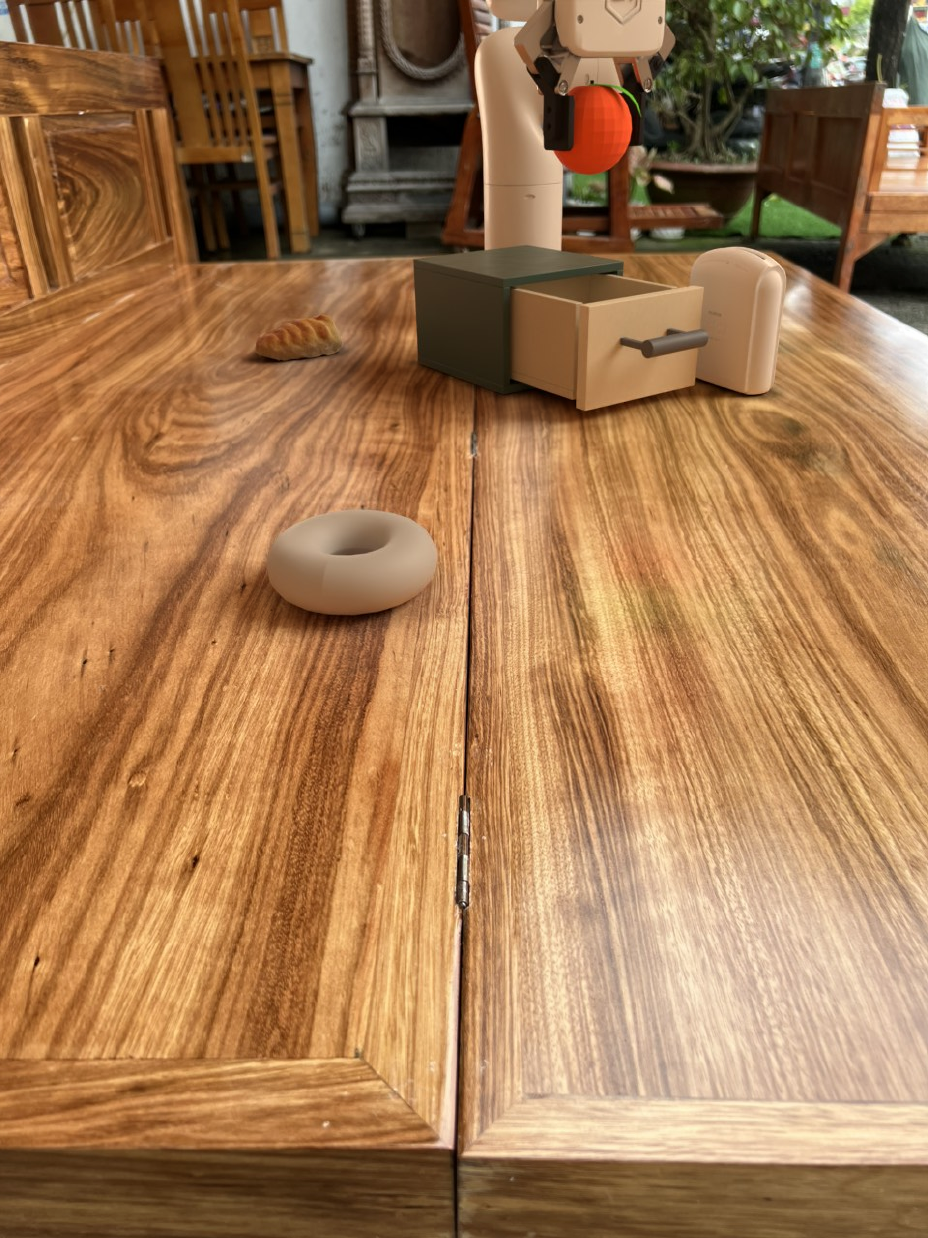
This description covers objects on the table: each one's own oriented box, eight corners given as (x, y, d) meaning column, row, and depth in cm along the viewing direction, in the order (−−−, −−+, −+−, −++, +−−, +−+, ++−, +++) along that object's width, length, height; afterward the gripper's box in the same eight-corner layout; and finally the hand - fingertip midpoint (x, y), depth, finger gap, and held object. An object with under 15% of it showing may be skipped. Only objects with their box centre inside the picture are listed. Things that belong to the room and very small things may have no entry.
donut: (433, 548, 61) (276, 553, 61) (432, 497, 60) (271, 503, 59) (444, 623, 53) (260, 631, 52) (443, 566, 51) (253, 574, 50)
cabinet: (618, 369, 98) (623, 261, 93) (503, 394, 91) (502, 278, 86) (526, 342, 110) (526, 244, 105) (417, 363, 103) (412, 258, 98)
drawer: (729, 395, 86) (740, 293, 82) (618, 423, 80) (624, 314, 76) (592, 355, 100) (596, 267, 96) (488, 377, 94) (487, 283, 89)
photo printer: (675, 374, 96) (686, 243, 90) (709, 368, 98) (722, 239, 92) (743, 398, 88) (760, 257, 82) (779, 392, 90) (798, 252, 84)
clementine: (654, 172, 83) (660, 78, 79) (620, 180, 78) (625, 79, 74) (571, 170, 87) (573, 80, 83) (534, 177, 81) (535, 81, 78)
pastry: (274, 366, 103) (269, 330, 101) (245, 356, 108) (240, 321, 106) (348, 351, 108) (345, 317, 106) (317, 342, 113) (313, 309, 111)
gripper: (543, -134, 65) (539, 155, 74) (722, -115, 74) (699, 143, 82) (481, -116, 71) (484, 151, 80) (654, -100, 79) (639, 141, 88)
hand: (593, 145), depth 81 cm, fingers closed on clementine, 7 cm apart
